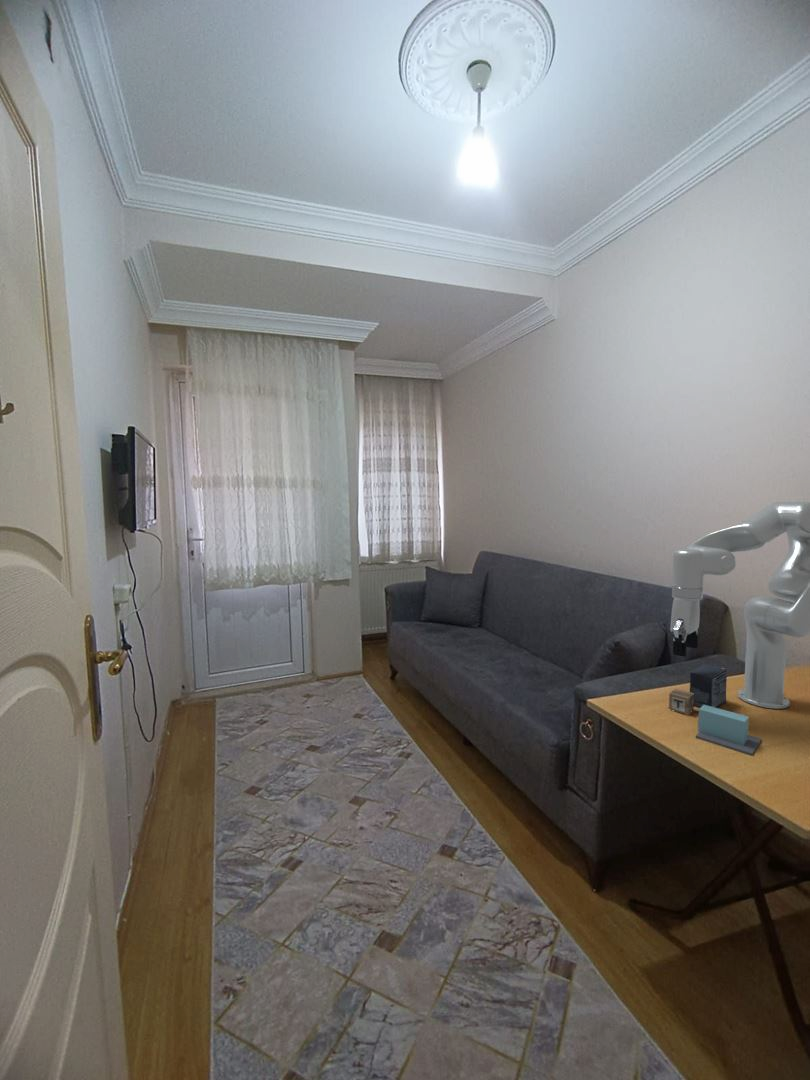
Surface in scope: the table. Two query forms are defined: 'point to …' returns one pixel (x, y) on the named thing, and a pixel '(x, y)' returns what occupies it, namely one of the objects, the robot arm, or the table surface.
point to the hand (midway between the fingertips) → (685, 651)
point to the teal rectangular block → (723, 724)
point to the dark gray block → (733, 743)
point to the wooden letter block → (681, 701)
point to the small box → (708, 685)
